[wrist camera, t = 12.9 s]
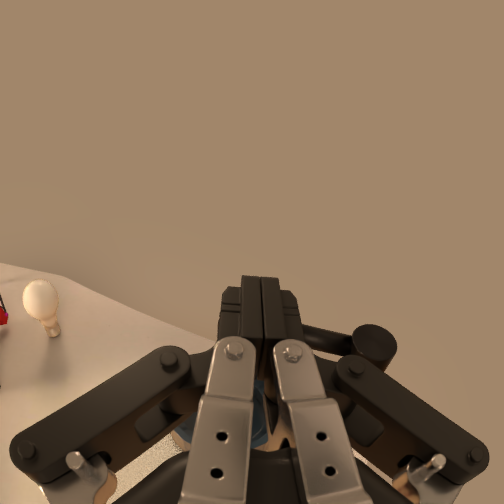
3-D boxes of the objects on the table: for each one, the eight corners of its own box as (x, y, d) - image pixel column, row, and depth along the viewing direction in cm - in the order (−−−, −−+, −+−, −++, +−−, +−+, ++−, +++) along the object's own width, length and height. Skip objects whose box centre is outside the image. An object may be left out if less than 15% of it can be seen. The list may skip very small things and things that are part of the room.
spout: (363, 385, 27) (396, 328, 23) (360, 416, 24) (398, 364, 20) (224, 350, 30) (228, 288, 26) (209, 378, 27) (209, 317, 23)
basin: (300, 418, 36) (311, 397, 33) (223, 490, 26) (224, 478, 23) (224, 360, 44) (226, 334, 41) (146, 412, 34) (137, 389, 31)
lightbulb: (50, 318, 45) (32, 268, 39) (76, 326, 45) (59, 274, 39) (33, 341, 40) (10, 291, 34) (60, 351, 39) (37, 300, 34)
